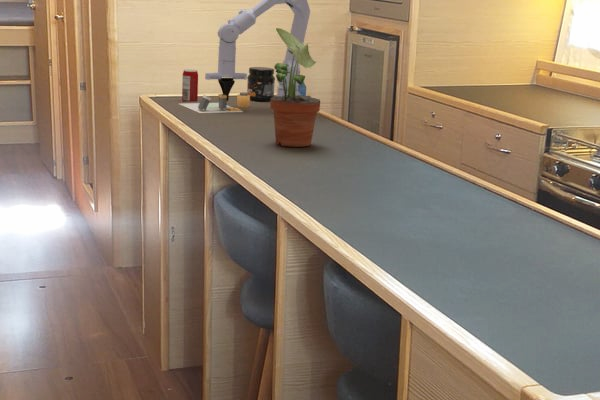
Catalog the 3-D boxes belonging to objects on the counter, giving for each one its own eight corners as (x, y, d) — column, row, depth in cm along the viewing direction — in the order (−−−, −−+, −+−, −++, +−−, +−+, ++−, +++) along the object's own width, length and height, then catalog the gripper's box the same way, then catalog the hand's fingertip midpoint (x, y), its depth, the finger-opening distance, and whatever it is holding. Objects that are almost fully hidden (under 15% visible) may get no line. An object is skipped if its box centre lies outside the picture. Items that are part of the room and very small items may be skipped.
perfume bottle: (283, 102, 335) (284, 71, 332) (291, 101, 341) (292, 69, 338) (297, 104, 333) (299, 72, 330) (305, 103, 338) (307, 71, 335)
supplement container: (242, 97, 342) (243, 66, 339) (267, 97, 347) (268, 66, 344) (253, 102, 333) (254, 70, 330) (278, 101, 338) (280, 70, 334)
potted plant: (257, 146, 252) (263, 20, 243) (279, 138, 265) (285, 18, 257) (308, 153, 246) (316, 24, 237) (328, 144, 260) (336, 23, 251)
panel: (243, 115, 302) (243, 110, 302) (199, 116, 295) (199, 111, 294) (219, 106, 319) (220, 101, 319) (177, 107, 311) (178, 102, 311)
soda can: (198, 102, 325) (199, 69, 322) (195, 104, 320) (196, 70, 317) (183, 101, 326) (184, 68, 323) (180, 103, 320) (181, 69, 317)
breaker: (205, 112, 298) (211, 98, 297) (201, 110, 297) (207, 96, 296) (201, 110, 301) (207, 96, 300) (196, 108, 300) (203, 94, 300)
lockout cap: (251, 110, 313) (252, 93, 312) (240, 111, 311) (240, 93, 309) (246, 108, 317) (246, 91, 315) (234, 109, 315) (235, 92, 313)
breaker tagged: (227, 110, 301) (226, 95, 300) (222, 110, 300) (222, 95, 299) (222, 108, 304) (222, 93, 303) (218, 109, 303) (218, 94, 302)
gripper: (241, 59, 305) (239, 98, 309) (202, 58, 299) (200, 99, 302) (250, 61, 299) (248, 101, 303) (210, 61, 293) (209, 102, 296)
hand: (225, 100), depth 302 cm, fingers closed, pressing on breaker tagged
